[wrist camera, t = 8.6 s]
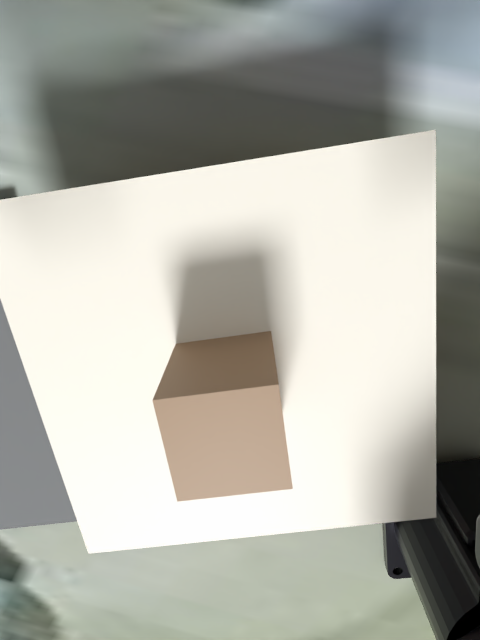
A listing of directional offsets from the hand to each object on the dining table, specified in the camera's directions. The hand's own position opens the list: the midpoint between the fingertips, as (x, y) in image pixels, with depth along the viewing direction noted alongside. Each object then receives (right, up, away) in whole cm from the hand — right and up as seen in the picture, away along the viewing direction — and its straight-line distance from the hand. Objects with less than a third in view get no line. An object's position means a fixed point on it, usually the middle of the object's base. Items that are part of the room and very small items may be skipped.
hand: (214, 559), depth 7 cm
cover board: (0, +2, +7) cm, 7 cm away
